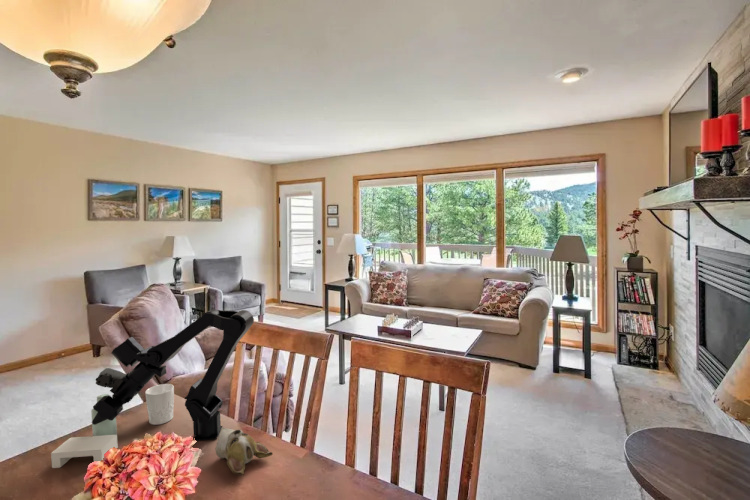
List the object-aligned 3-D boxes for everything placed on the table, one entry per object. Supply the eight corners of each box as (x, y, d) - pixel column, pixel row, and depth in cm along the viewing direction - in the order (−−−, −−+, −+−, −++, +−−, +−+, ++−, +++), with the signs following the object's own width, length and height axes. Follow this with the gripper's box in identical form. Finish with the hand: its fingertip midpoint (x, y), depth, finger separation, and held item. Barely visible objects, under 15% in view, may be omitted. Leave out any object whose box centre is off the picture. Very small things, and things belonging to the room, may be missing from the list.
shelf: (117, 448, 104) (116, 434, 104) (102, 464, 97) (101, 449, 97) (71, 451, 103) (70, 437, 102) (52, 468, 96) (50, 453, 95)
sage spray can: (121, 433, 111) (118, 391, 110) (110, 444, 106) (107, 400, 105) (101, 434, 111) (98, 392, 110) (88, 446, 105) (85, 401, 104)
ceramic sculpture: (238, 412, 105) (274, 431, 97) (238, 441, 106) (274, 462, 98) (203, 430, 97) (239, 453, 88) (203, 462, 97) (240, 487, 89)
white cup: (166, 426, 115) (164, 394, 115) (141, 426, 115) (139, 394, 115) (180, 413, 123) (178, 383, 123) (156, 413, 123) (155, 383, 123)
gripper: (129, 349, 117) (91, 387, 115) (99, 372, 98) (53, 417, 97) (158, 371, 119) (122, 409, 117) (134, 398, 101) (90, 442, 99)
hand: (98, 418), depth 107 cm, fingers closed on sage spray can, 6 cm apart
